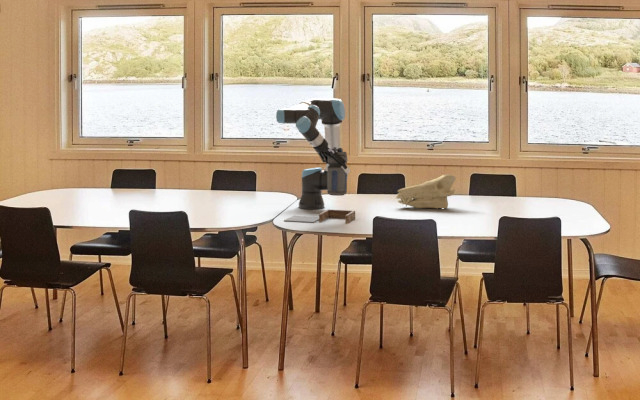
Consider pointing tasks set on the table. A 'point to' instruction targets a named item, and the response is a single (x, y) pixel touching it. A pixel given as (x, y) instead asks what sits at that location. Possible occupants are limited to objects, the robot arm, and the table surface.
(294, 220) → the grey rubber mat
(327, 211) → the walnut dock
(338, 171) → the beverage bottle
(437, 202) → the animal skull
